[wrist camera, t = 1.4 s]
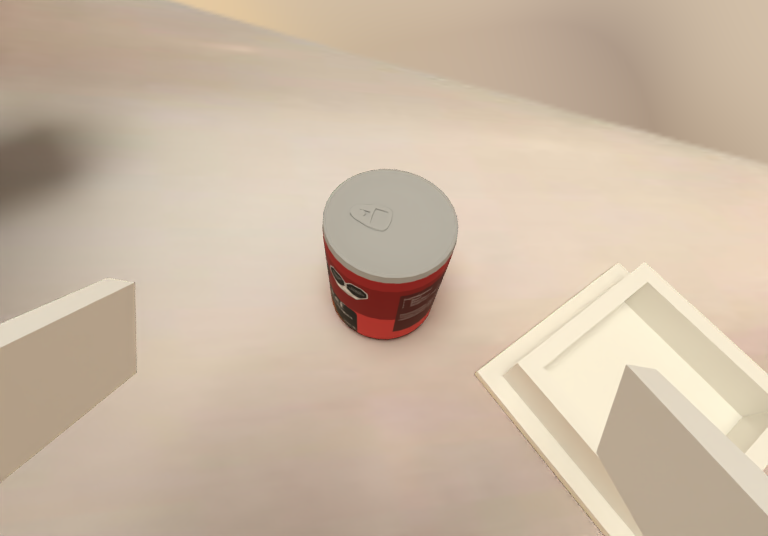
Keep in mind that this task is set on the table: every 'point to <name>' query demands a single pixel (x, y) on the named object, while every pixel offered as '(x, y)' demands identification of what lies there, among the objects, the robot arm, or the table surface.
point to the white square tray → (603, 375)
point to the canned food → (387, 250)
